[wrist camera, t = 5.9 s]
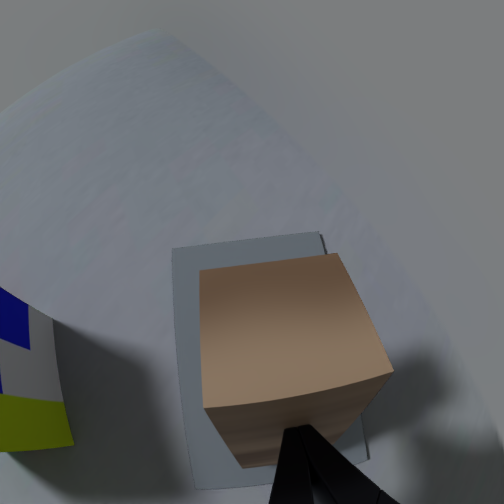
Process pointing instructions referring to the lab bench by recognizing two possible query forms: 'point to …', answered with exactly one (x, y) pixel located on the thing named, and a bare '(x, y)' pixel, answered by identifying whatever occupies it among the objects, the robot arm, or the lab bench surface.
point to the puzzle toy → (29, 380)
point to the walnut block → (285, 353)
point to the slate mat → (189, 357)
